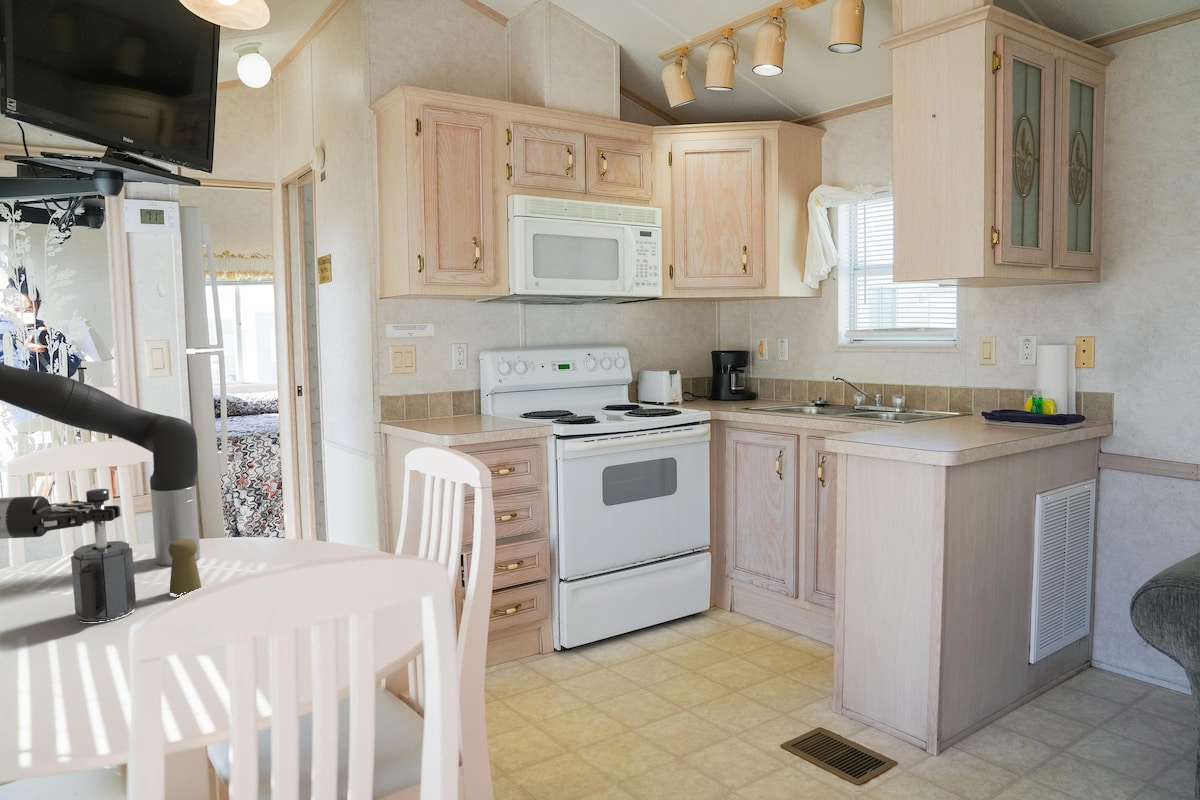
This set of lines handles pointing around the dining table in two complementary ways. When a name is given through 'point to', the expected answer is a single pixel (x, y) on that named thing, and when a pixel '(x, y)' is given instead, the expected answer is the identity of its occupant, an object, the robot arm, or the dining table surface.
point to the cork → (183, 567)
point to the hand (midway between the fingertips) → (116, 513)
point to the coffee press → (103, 581)
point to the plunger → (100, 527)
